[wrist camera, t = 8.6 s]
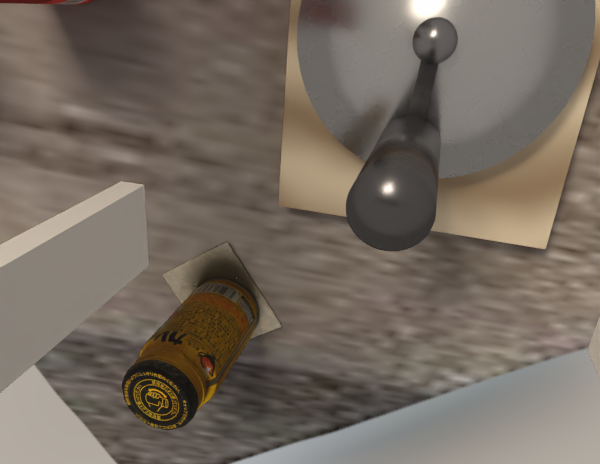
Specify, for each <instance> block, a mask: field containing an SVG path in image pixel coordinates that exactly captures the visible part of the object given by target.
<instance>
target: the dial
mask: <svg viewBox="0 0 600 464" xmlns="http://www.w3.org/2000/svg"><path fill="white" fill-rule="evenodd" d="M595 5H596V2H595V0H301V5H300V10H299V15H298V26H297V54H298V60H299V66H300V72H301V76H302V79H303V83H304V86H305V89H306V92H307V94H308V96H309V99H310V101H311V103H312V106H313V107H314V109H315V111H316V112H317V114H318V116H319V118H320V119H321V121H322V122H323V123H324V125H325V126H326V127H327V129H328V130H329V131H330V132H331V134H332V135H333V136H334V137H335V138H336V139H337V140H338V141H339V142H340V143H341V144H342V145H343V146H345V147H346V148H347V149H348V150H350V151H351V152H352V153H354V154H355V155H356V156H358V157H359V158H361V159H363V160H364V161H366V162H365V164H364V166H363V168H362V169H361V171H360V173H359V175H358V176H357V178H356V180H355V182H354V183H353V185H352V187H351V189H350V191H349V193H348V196H347V200H346V216H347V219H348V222H349V225H350V227H351V229H352V230H353V232H354V233H355V234H356V235H357V236H358V237H359V238H360V239H361V240H362V241H363V242H364V243H366V244H368V245H369V246H371V247H374V248H376V249H380V250H384V251H400V250H405V249H408V248H410V247H413V246H415V245H416V244H418V243H419V242H421V241H422V240H423V239H424V238H425V237H426V236H427V235H428V233H429V232H430V230H431V229H432V227H433V224H434V221H435V217H436V207H437V192H438V179H439V178H450V177H458V176H462V175H467V174H471V173H475V172H478V171H481V170H484V169H486V168H489V167H492V166H494V165H496V164H498V163H500V162H502V161H504V160H506V159H508V158H510V157H511V156H513V155H514V154H516V153H518V152H519V151H521V150H522V149H524V148H525V147H526V146H528V145H529V144H530V143H531V142H532V141H534V140H535V139H536V138H537V137H539V136H540V135H541V134H542V133H543V132H544V131H545V130H546V129H547V128H548V127H549V125H550V124H551V123H552V122H553V121H554V120H555V119H556V118H557V116H558V115H559V114H560V112H561V111H562V110H563V108H564V107H565V106H566V104H567V103H568V101H569V99H570V98H571V96H572V94H573V93H574V91H575V89H576V87H577V86H578V83H579V81H580V79H581V76H582V74H583V72H584V69H585V67H586V64H587V61H588V57H589V54H590V50H591V47H592V41H593V35H594V28H595Z"/></svg>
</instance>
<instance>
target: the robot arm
mask: <svg viewBox="0 0 600 464" xmlns="http://www.w3.org/2000/svg"><path fill="white" fill-rule="evenodd" d="M148 266H149V261H148V243H147V225H146V206H145V188H144V185H142V184H136V183H129V182H123V181H121V182H119V183H117V184H115V185H113V186H112V187H110V188H108V189H106V190H104V191H102V192H100V193H98V194H96V195H94V196H92V197H90V198H89V199H87V200H85V201H83V202H81V203H79V204H77V205H75V206H73V207H71V208H69V209H68V210H66V211H64V212H62V213H60V214H58V215H56V216H54V217H52V218H50V219H48V220H47V221H45V222H43V223H41V224H39V225H37V226H35V227H33V228H31V229H29V230H27V231H26V232H24V233H22V234H20V235H18V236H16V237H14V238H12V239H10V240H8V241H6V242H4V243H3V244H1V245H0V393H1V392H2V391H3V390H4V389H5V388H7V387H8V386H9V385H10V384H11V383H12V382H14V381H15V380H16V379H17V378H18V377H19V376H21V375H22V374H23V373H24V372H25V371H26V370H28V369H29V368H30V367H31V366H32V365H34V364H35V363H36V362H37V361H38V360H39V359H41V358H42V357H43V356H44V355H45V354H46V353H48V352H49V351H50V350H51V349H52V348H53V347H55V346H56V345H57V344H58V343H59V342H60V341H62V340H63V339H64V338H65V337H66V336H67V335H69V334H70V333H71V332H72V331H73V330H75V329H76V328H77V327H78V326H79V325H80V324H82V323H83V322H84V321H85V320H86V319H87V318H89V317H90V316H91V315H92V314H93V313H94V312H96V311H97V310H98V309H99V308H100V307H101V306H103V305H104V304H105V303H106V302H107V301H108V300H110V299H111V298H112V297H113V296H114V295H116V294H117V293H118V292H119V291H120V290H121V289H123V288H124V287H125V286H126V285H127V284H128V283H130V282H131V281H132V280H133V279H134V278H135V277H137V276H138V275H139V274H140V273H141V272H142V271H144V270H145V269H146V268H147V267H148ZM588 352H589V354H590V357H591V360H592V362H593V364H594V367H595V369H596V372H597V374H598V377H599V379H600V317H599V320H598V322H597V325H596V328H595V331H594V334H593V337H592V340H591V342H590V345H589V348H588Z"/></svg>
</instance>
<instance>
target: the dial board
mask: <svg viewBox="0 0 600 464" xmlns="http://www.w3.org/2000/svg"><path fill="white" fill-rule="evenodd" d="M595 2H596V5H595V28H594V35H593V41H592V47H591V50H590V54H589V57H588V61H587V64H586V67H585V69H584V72H583V74H582V76H581V79H580V81H579V83H578V86H577V87H576V89H575V91H574V93H573V94H572V96H571V98H570V99H569V101H568V103H567V104H566V106H565V107H564V108H563V110H562V111H561V112H560V114H559V115H558V116H557V118H556V119H555V120H554V121H553V122H552V123H551V124H550V125H549V127H548V128H547V129H546V130H545V131H544V132H543V133H542V134H541V135H540V136H539V137H537V138H536V139H535V140H534V141H532V142H531V143H530V144H529V145H528V146H526V147H525V148H524V149H522V150H521V151H519V152H518V153H516V154H514V155H513V156H511V157H510V158H508V159H506V160H504V161H502V162H500V163H498V164H496V165H494V166H492V167H489V168H486V169H484V170H481V171H478V172H475V173H471V174H467V175H462V176H458V177H450V178H439V179H438V192H437V207H436V217H435V221H434V224H433V227H432V229H431V230H430V231H436V232H443V233H449V234H455V235H461V236H467V237H473V238H479V239H486V240H492V241H498V242H504V243H510V244H516V245H522V246H528V247H535V248H541V249H546V246H547V242H548V239H549V235H550V232H551V228H552V225H553V221H554V218H555V214H556V211H557V207H558V204H559V200H560V197H561V193H562V190H563V186H564V183H565V179H566V176H567V172H568V169H569V165H570V162H571V158H572V155H573V151H574V148H575V144H576V141H577V137H578V134H579V130H580V127H581V123H582V120H583V116H584V113H585V109H586V106H587V102H588V99H589V96H590V92H591V89H592V85H593V82H594V78H595V75H596V71H597V68H598V64H599V61H600V0H595ZM300 5H301V0H291V2H290V19H289V36H288V52H287V69H286V85H285V102H284V118H283V135H282V152H281V168H280V185H279V201H278V206H283V207H289V208H295V209H302V210H308V211H314V212H320V213H326V214H332V215H338V216H344V217H347V216H346V200H347V196H348V193H349V191H350V189H351V187H352V185H353V183H354V182H355V180H356V178H357V176H358V175H359V173H360V171H361V169H362V168H363V166H364V164H365V162H366V161H364V160H363V159H361V158H359V157H358V156H356V155H355V154H354V153H352V152H351V151H350V150H348V149H347V148H346V147H345V146H343V145H342V144H341V143H340V142H339V141H338V140H337V139H336V138H335V137H334V136H333V135H332V134H331V132H330V131H329V130H328V129H327V127H326V126H325V125H324V123H323V122H322V121H321V119H320V118H319V116H318V114H317V112H316V111H315V109H314V107H313V106H312V103H311V101H310V99H309V96H308V94H307V92H306V89H305V86H304V83H303V79H302V76H301V72H300V66H299V60H298V54H297V26H298V15H299V10H300Z"/></svg>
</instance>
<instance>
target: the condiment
mask: <svg viewBox="0 0 600 464" xmlns="http://www.w3.org/2000/svg"><path fill="white" fill-rule="evenodd" d="M162 275H163V277H164V278H165V280H166V282H167V283H168V285H169V286H170V287H171V288H172V290H173V292H174V294H175V295H176V296H177V297H178V299H179V300H180V302H181V305H180V306H179V307H178V308H177V310H176V311H175V312H174V313H173V314H172V315H171V316H170V317H169V319H168V320H167V321H166V322H165V323H164V324H163V325H162V326H161V327H160V328H159V329H158V330H157V332H155V334H154V335H153V336H152V337H151V338H150V339H149V340H148V341H147V342H146V344H145V345H144V346H143V348H142V350H141V352H140V356H139V358H138V359H137V360H136V362H135V363H134V365H133V366H132V367H131V368H130V369H129V370H128V371H127V373H126V375H125V377H124V380H123V382H122V389H123V395H124V399H125V402H126V403H127V405H128V407H129V409H130V410H131V411H132V412H133V413H134V414H135V415H136V416H137V417H138V418H139V419H140V420H142V421H143V422H145V423H146V424H148V425H150V426H151V427H155V428H159V429H163V430H173V429H176V428H180V427H183V426H185V425H186V424H187V423H188V422H189V421H191V419H192V418H193V417H194V415H195V413H196V412H197V410H198V409H199V408H200V407H201V406H202V404H204V403H206V402H207V401H209V400H210V399H211V398H212V397H213V395H214V394H215V393H216V391H217V390H218V389H219V386H220V385H221V384H222V383H223V380H224V379H225V378H226V375H227V373H228V371H229V370H230V369H231V367H232V366H233V365H234V362H235V361H236V360H237V358H238V356H239V355H240V354H241V351H242V350H243V349H244V347H245V345H246V343H247V341H248V340H249V339H251V338H254V337H256V336H259V335H261V334H265V333H268V332H270V331H273V330H275V329H278V328H280V327H282V326H281V325H280V323H279V321H278V320H277V318H276V316H275V315H274V313H273V311H272V310H271V308H270V307H269V306H268V304H267V302H266V300H265V299H264V297H263V295H262V294H261V293H260V291H259V289H258V288H257V287H256V285H255V283H254V282H253V281H252V280H251V278H250V277H249V275H248V273H247V271H246V270H245V269H244V267H243V265H242V263H241V262H240V260H239V259H238V258H237V256H236V255H235V254H234V252H233V251H232V249H231V247H230V246H229V244H228V243H227V242H226V243H224V244H222V245H220V246H217V247H216V248H214V249H211V250H209V251H208V252H206V253H203V254H201V255H200V256H197V257H196V258H194V259H192V260H190V261H187V262H186V263H184V264H182V265H180V266H178V267H176V268H174V269H172V270H170V271H168V272H166V273H164V274H162ZM236 277H237V279H236ZM194 282H195V286H194ZM194 287H195V288H196V289H195V290H194Z"/></svg>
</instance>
